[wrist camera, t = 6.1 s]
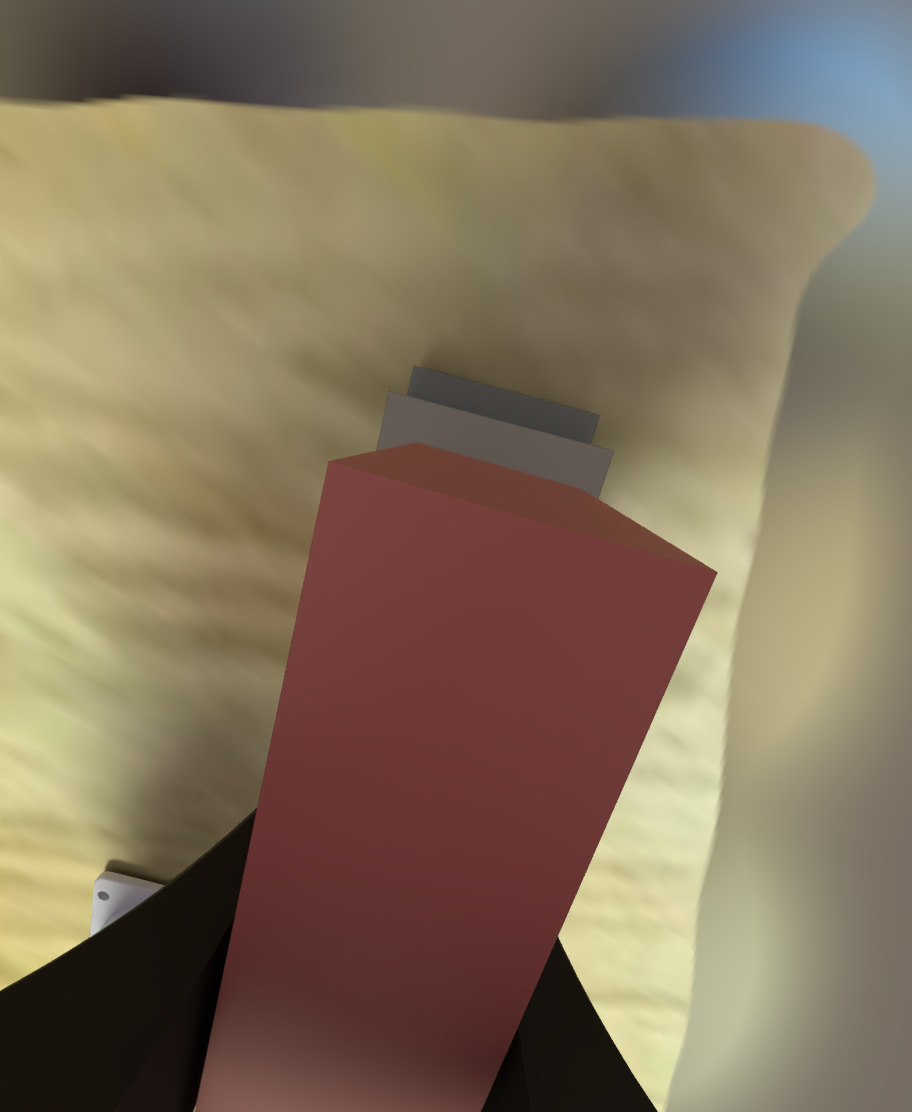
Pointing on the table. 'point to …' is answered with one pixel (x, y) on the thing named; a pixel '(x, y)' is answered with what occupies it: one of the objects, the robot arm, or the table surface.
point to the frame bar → (436, 777)
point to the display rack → (497, 429)
